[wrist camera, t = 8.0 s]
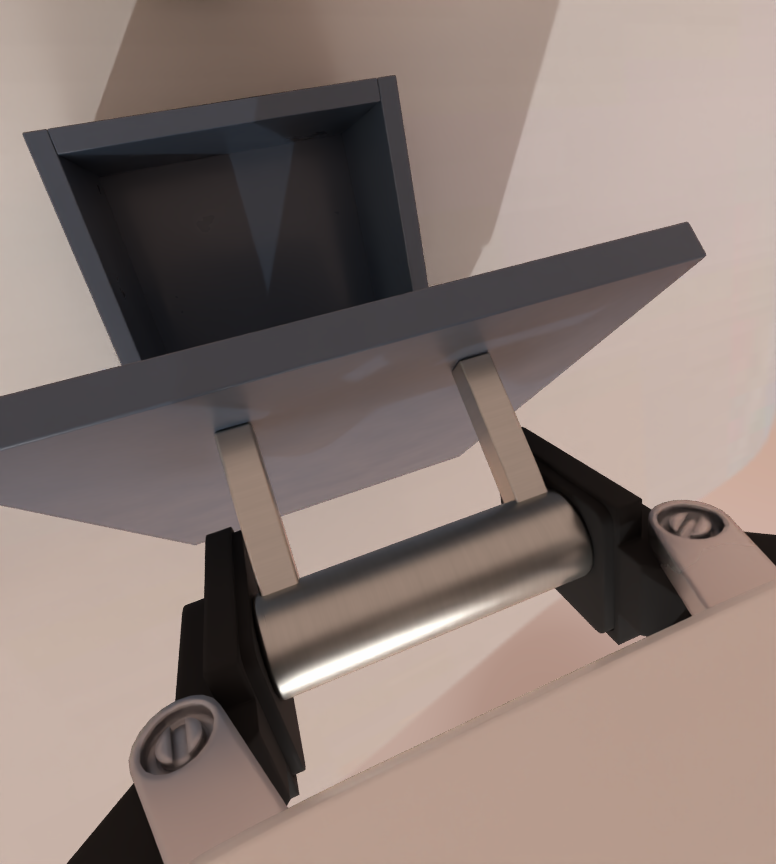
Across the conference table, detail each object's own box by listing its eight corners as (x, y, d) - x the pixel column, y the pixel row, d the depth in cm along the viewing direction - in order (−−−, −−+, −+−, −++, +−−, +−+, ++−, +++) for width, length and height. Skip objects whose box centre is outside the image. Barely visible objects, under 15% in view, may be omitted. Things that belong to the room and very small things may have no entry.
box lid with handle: (-126, 426, 7) (-65, 887, 6) (689, 219, 10) (841, 496, 8) (190, 528, 23) (222, 650, 22) (454, 442, 26) (495, 545, 25)
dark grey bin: (77, 163, 24) (21, 132, 17) (349, 117, 27) (396, 74, 20) (197, 465, 31) (192, 532, 24) (404, 403, 33) (453, 445, 27)
